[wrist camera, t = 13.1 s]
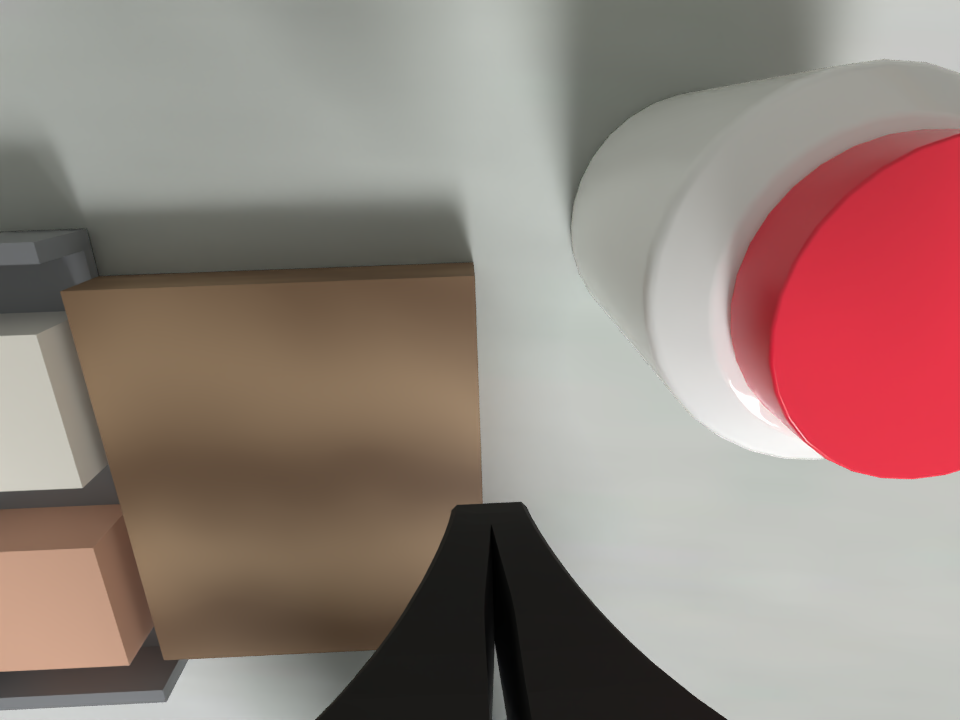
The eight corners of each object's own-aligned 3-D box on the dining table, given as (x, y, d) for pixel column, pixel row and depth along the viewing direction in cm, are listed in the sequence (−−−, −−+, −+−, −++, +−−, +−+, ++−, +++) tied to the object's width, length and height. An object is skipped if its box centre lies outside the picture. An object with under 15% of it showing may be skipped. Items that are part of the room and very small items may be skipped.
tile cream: (124, 448, 21) (82, 488, 19) (-21, 454, 21) (-82, 495, 19) (87, 310, 19) (36, 334, 17) (-72, 316, 19) (-146, 341, 17)
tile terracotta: (162, 612, 24) (129, 665, 21) (32, 618, 24) (-15, 672, 21) (132, 503, 22) (92, 547, 20) (-8, 509, 22) (-64, 555, 19)
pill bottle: (548, 320, 20) (640, 510, 10) (600, 69, 18) (797, -21, 7) (766, 352, 21) (1060, 561, 11) (847, 115, 18) (1341, 90, 8)
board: (485, 605, 24) (487, 644, 23) (186, 619, 24) (163, 660, 22) (473, 262, 20) (474, 275, 18) (98, 276, 19) (59, 291, 17)
